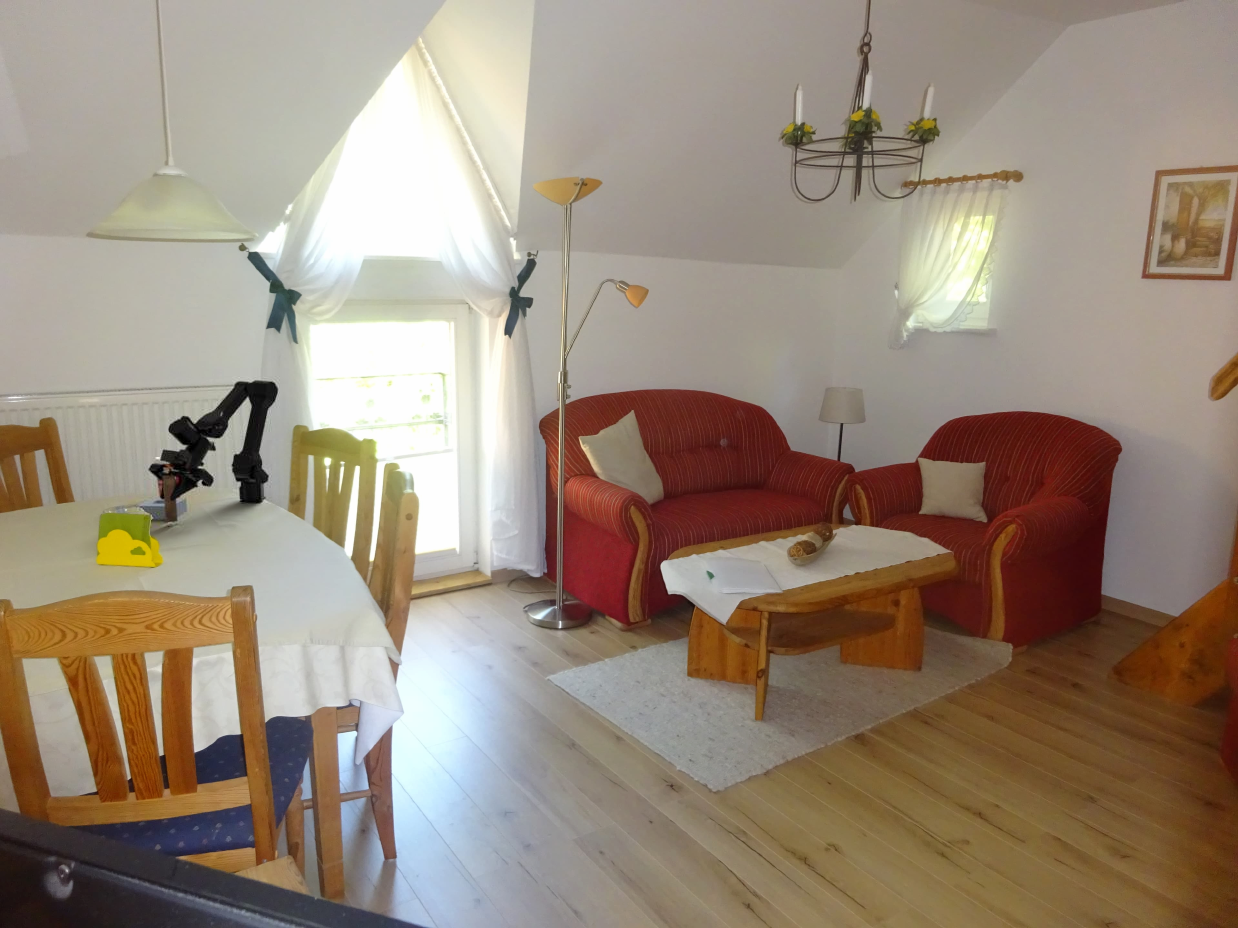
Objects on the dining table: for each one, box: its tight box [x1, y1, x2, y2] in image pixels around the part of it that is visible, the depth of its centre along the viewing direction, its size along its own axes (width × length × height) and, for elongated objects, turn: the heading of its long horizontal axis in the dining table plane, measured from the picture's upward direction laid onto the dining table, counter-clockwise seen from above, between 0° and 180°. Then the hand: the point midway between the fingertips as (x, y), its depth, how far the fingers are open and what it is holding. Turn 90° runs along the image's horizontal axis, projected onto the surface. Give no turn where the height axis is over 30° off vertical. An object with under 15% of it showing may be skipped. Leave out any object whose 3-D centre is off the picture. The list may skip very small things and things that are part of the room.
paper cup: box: [153, 456, 181, 498], centre depth 267 cm, size 8×8×14 cm
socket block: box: [136, 497, 188, 520], centre depth 251 cm, size 10×10×4 cm
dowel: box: [163, 475, 179, 523], centre depth 240 cm, size 3×3×13 cm
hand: (166, 499), depth 239 cm, fingers closed on dowel, 3 cm apart
